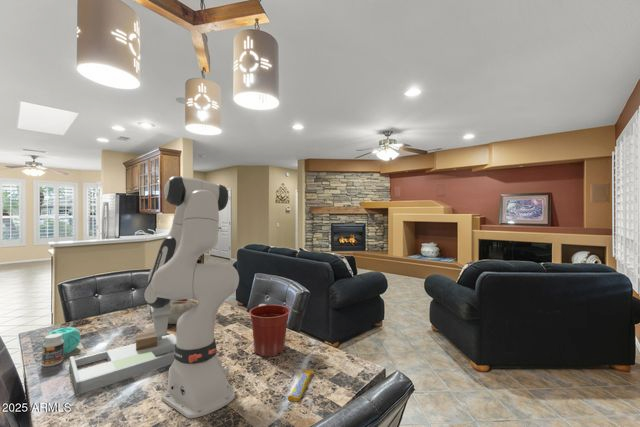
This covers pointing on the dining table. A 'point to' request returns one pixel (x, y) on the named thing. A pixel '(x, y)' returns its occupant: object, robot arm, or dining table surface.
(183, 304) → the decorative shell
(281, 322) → the flower pot
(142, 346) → the walnut block
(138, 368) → the board
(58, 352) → the pill bottle
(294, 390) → the candy bar
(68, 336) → the decorative dice
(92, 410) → the dining table surface
